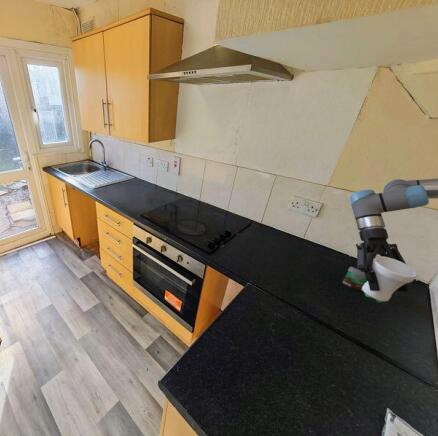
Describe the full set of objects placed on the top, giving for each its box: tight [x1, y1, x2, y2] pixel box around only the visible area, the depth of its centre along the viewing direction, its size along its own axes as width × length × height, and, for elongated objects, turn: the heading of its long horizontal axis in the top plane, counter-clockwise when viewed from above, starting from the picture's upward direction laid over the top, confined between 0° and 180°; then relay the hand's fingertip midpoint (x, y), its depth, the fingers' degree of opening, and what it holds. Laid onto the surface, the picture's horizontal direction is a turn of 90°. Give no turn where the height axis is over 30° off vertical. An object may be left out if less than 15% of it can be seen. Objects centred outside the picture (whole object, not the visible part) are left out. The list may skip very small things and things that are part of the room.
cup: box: [360, 255, 419, 303], centre depth 81 cm, size 11×11×14 cm
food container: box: [341, 266, 367, 291], centre depth 98 cm, size 12×6×10 cm, turn 105°
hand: (389, 291), depth 79 cm, fingers closed on cup, 10 cm apart
